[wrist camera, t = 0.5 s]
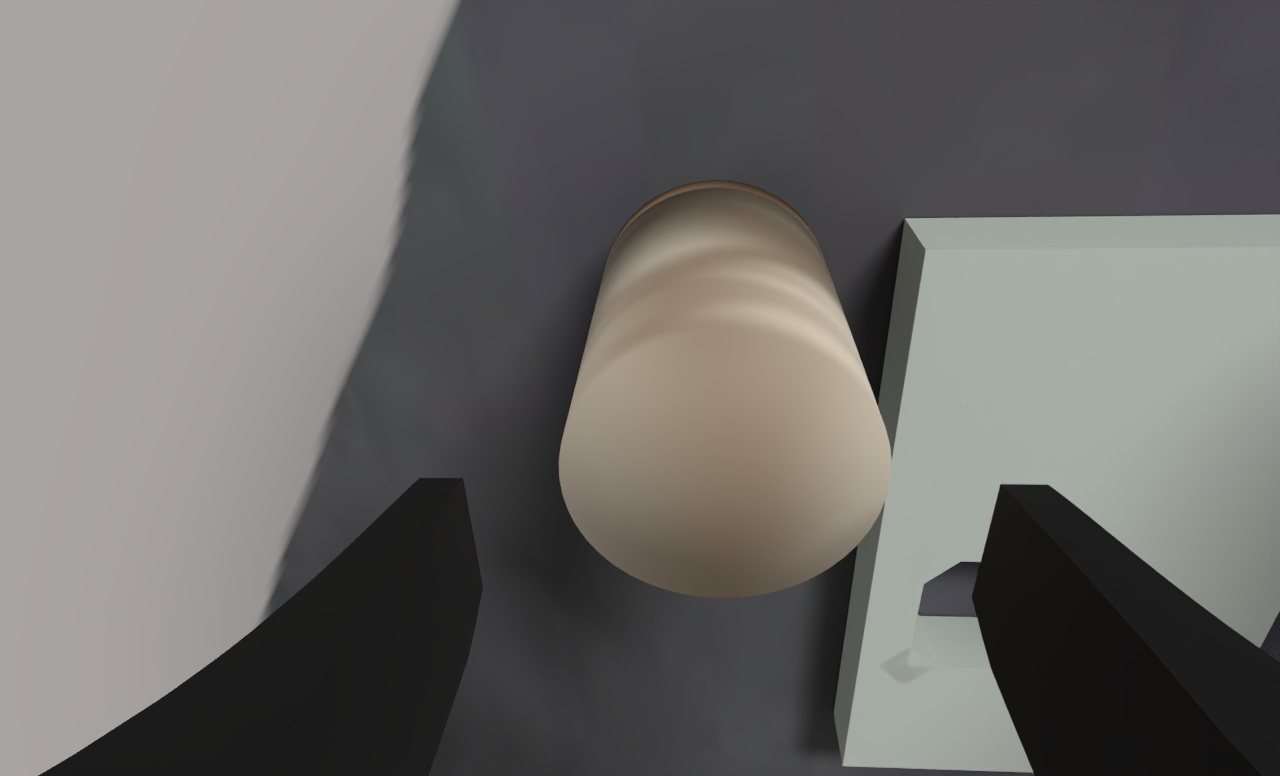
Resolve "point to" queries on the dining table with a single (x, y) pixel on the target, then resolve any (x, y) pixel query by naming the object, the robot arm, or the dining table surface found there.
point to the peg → (722, 402)
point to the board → (1061, 443)
